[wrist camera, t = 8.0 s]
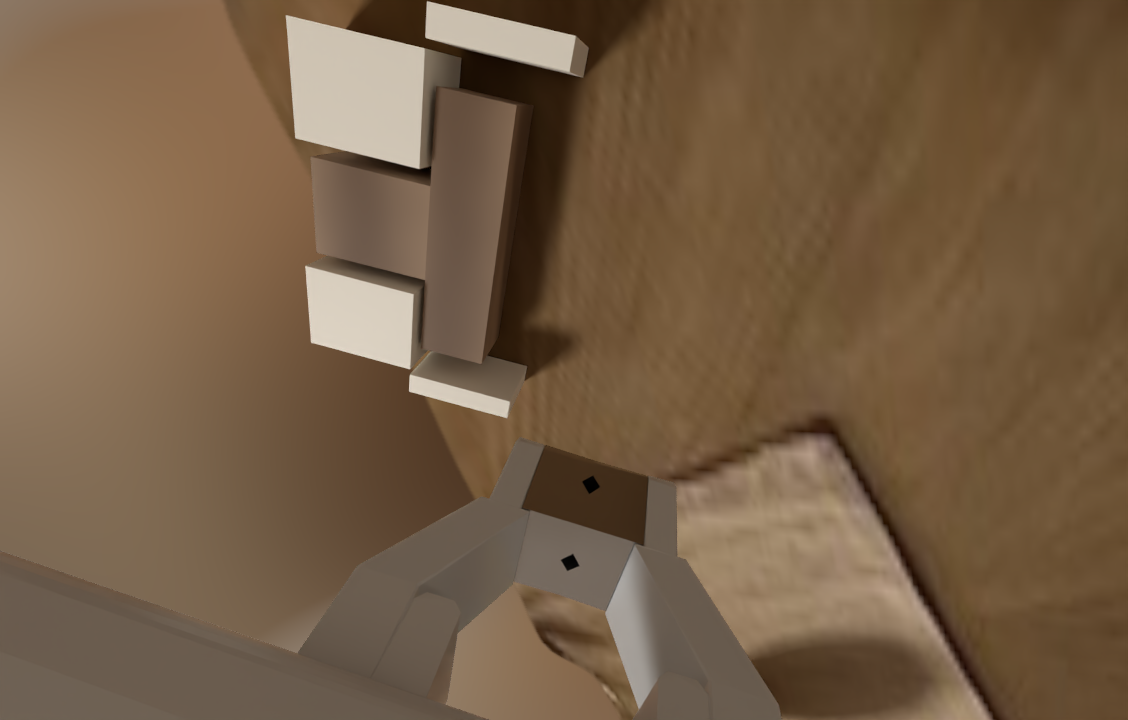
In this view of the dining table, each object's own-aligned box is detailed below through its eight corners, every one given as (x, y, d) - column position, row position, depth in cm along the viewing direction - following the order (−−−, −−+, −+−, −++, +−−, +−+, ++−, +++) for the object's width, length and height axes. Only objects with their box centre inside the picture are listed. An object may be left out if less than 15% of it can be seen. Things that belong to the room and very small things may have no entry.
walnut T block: (533, 105, 19) (516, 105, 17) (498, 336, 25) (481, 364, 22) (349, 60, 20) (303, 54, 17) (354, 300, 25) (321, 322, 22)
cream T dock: (588, 48, 18) (575, 35, 15) (524, 381, 26) (507, 418, 23) (343, -10, 18) (282, -33, 15) (352, 335, 26) (312, 365, 23)
